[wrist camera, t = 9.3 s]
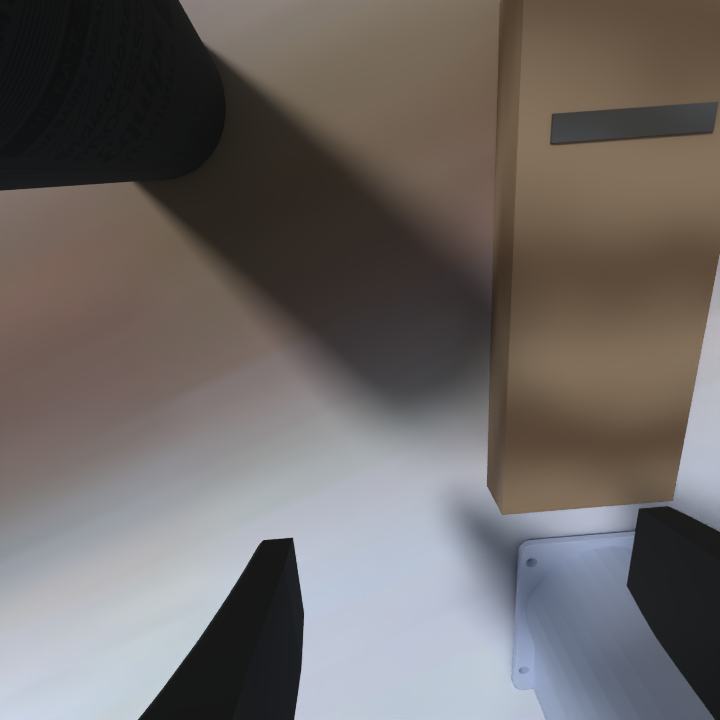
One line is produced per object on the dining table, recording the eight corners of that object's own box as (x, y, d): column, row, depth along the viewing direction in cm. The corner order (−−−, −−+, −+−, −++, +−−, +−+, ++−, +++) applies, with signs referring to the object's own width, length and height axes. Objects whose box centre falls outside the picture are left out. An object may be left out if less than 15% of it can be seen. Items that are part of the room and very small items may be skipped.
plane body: (641, 472, 20) (674, 502, 18) (487, 485, 20) (503, 516, 18) (718, -14, 14) (780, -51, 12) (499, 1, 14) (526, -34, 12)
